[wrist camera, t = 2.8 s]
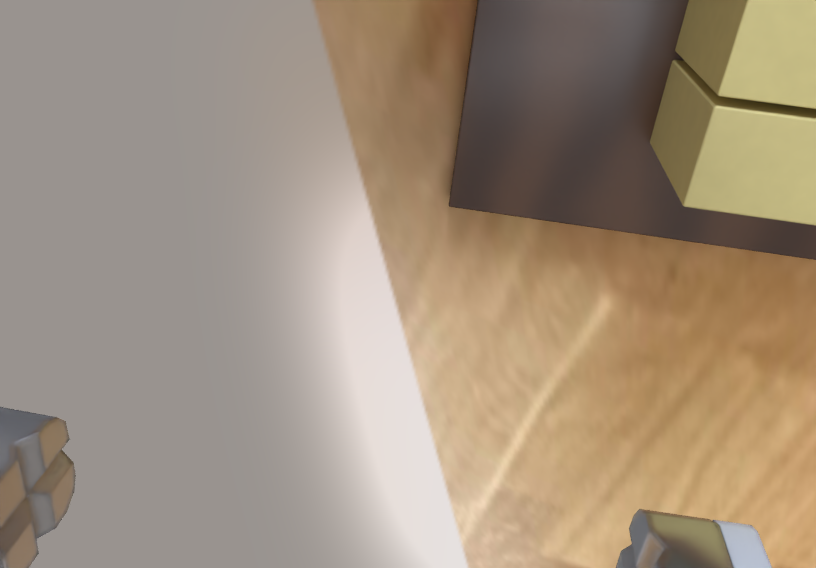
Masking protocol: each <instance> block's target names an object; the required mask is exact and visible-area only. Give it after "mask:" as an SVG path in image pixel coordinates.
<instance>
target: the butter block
mask: <svg viewBox="0 0 816 568" xmlns="http://www.w3.org/2000/svg"><path fill="white" fill-rule="evenodd" d="M675 51H676V52H677V53H678V54H679V55H680V56H681V57H682V59H683V60H684V61H685V62H686V63H687V64H688V65H689V66H690V67H691V68H692V69H693V70H694V71H695V72H696V73H697V74H698V75H699V76H700V77H701V78H702V79H703V80H704V81H705V83H706V84H707V85H708V86H709V87H710V88H711V89H712V90H713V91H714V92H715V93H716V94H717V95H718V96H722V97H729V98H737V99H744V100H752V101H759V102H766V103H774V104H781V105H789V106H796V107H804V108H811V109H816V0H689V2H688V5H687V9H686V12H685V16H684V20H683V23H682V27H681V31H680V34H679V38H678V41H677V45H676V49H675Z"/></svg>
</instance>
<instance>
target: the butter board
mask: <svg viewBox="0 0 816 568" xmlns="http://www.w3.org/2000/svg"><path fill="white" fill-rule="evenodd" d="M688 2H689V0H478V3H477V10H476V17H475V24H474V31H473V38H472V45H471V52H470V59H469V66H468V73H467V80H466V87H465V94H464V101H463V109H462V116H461V123H460V130H459V137H458V144H457V151H456V158H455V165H454V172H453V179H452V186H451V193H450V200H449V206H450V207H456V208H463V209H470V210H477V211H484V212H491V213H498V214H504V215H511V216H518V217H525V218H532V219H539V220H546V221H553V222H559V223H566V224H573V225H580V226H587V227H594V228H601V229H608V230H614V231H621V232H628V233H635V234H642V235H649V236H656V237H663V238H670V239H676V240H683V241H690V242H697V243H704V244H711V245H718V246H725V247H731V248H738V249H745V250H752V251H759V252H766V253H773V254H780V255H786V256H793V257H800V258H807V259H814V260H816V225H809V224H802V223H795V222H788V221H781V220H774V219H767V218H760V217H753V216H746V215H739V214H732V213H725V212H718V211H711V210H704V209H697V208H690V207H684V206H683V205H682V203H681V201H680V199H679V197H678V195H677V193H676V191H675V190H674V188H673V186H672V184H671V182H670V180H669V178H668V176H667V174H666V172H665V171H664V169H663V167H662V165H661V163H660V161H659V159H658V157H657V155H656V153H655V152H654V150H653V148H652V146H651V144H650V140H651V136H652V132H653V129H654V125H655V121H656V118H657V114H658V111H659V107H660V103H661V100H662V96H663V93H664V89H665V85H666V82H667V78H668V74H669V71H670V67H671V64H672V61H673V60H681V61H684V60H683V59H682V57H681V56H680V55H679V54H678V53H677V52H676V51H675V49H676V45H677V41H678V38H679V34H680V31H681V27H682V23H683V20H684V16H685V12H686V9H687V5H688Z"/></svg>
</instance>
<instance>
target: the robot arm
mask: <svg viewBox="0 0 816 568" xmlns="http://www.w3.org/2000/svg"><path fill="white" fill-rule="evenodd" d="M68 441H69V435H68V430H67V426H66V422H65V421H64V420H61V419H59V418H57V417H52V416H46V415H40V414H36V413H30V412H24V411H19V410H14V409H8V408H3V407H0V568H29V566H30V565H31V563H32V562H33V561H34V559H35V558H36V556H37V555H38V546H37V538H39V537H41V536H42V535H44V534H46V533H48V532H50V531H51V530H53V529H55V528H56V527H57V526H58V524H59V523H60V521H61V520H62V518H63V517H64V515H65V514H66V512H67V510H68V507H69V504H70V501H71V498H72V496H73V493H74V486H75V469H74V463H73V462H72V461H71V459H70V458H69V457H68V456H67V455H66V454H65V453H64V452H63V451H62V448H63V447H64V446H65V445H66V443H67V442H68ZM629 530H630V536H631V541H632V544H631V545H630V546H628V547H627V548H625V549H623V550H622V551H621V553H620V556H619V559H618V563H617V566H616V568H772V567H771V564H770V562H769V559H768V556H767V554H766V551H765V549H764V546H763V544H762V541H761V539H760V536H759V534H758V532H757V530H756V529H755V528H754V527H753V526H752V525H746V524H739V523H732V522H726V521H719V520H710V519H704V518H697V517H690V516H683V515H677V514H670V513H663V512H657V511H650V510H643V509H639V510H638V511H637V512H636V514H635V515H634V517H633V519H632V522H631V525H630V527H629Z"/></svg>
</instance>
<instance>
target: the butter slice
mask: <svg viewBox="0 0 816 568" xmlns="http://www.w3.org/2000/svg"><path fill="white" fill-rule="evenodd" d="M650 144H651V146H652V148H653V150H654V152H655V153H656V155H657V157H658V159H659V161H660V163H661V165H662V167H663V169H664V171H665V172H666V174H667V176H668V178H669V180H670V182H671V184H672V186H673V188H674V190H675V191H676V193H677V195H678V197H679V199H680V201H681V203H682V205H683V206H684V207H690V208H697V209H704V210H711V211H718V212H725V213H732V214H739V215H746V216H753V217H760V218H767V219H774V220H781V221H788V222H795V223H802V224H809V225H816V109H811V108H804V107H796V106H789V105H781V104H774V103H766V102H759V101H752V100H744V99H737V98H729V97H722V96H718V95H717V94H716V93H715V92H714V91H713V90H712V89H711V88H710V87H709V86H708V85H707V84H706V83H705V81H704V80H703V79H702V78H701V77H700V76H699V75H698V74H697V73H696V72H695V71H694V70H693V69H692V68H691V67H690V66H689V65H688V64H687V63H686V62H685V61H681V60H673V61H672V64H671V67H670V71H669V74H668V78H667V82H666V85H665V89H664V93H663V96H662V100H661V103H660V107H659V111H658V114H657V118H656V121H655V125H654V129H653V132H652V136H651V140H650Z"/></svg>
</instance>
